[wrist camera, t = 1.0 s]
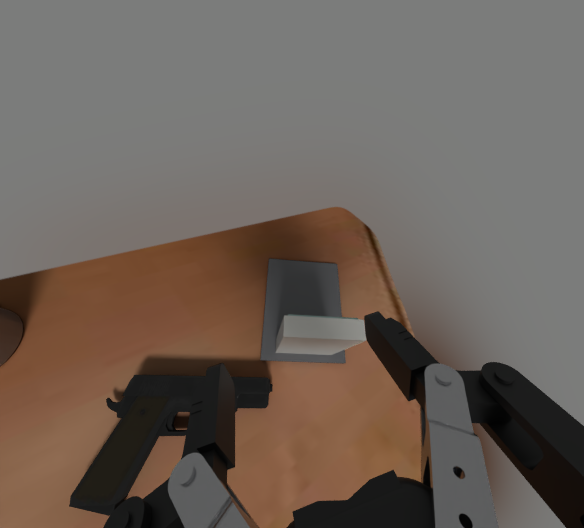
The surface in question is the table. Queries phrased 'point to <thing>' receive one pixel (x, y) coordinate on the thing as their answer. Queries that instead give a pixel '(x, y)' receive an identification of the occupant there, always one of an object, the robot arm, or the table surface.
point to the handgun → (147, 432)
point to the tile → (318, 334)
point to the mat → (299, 303)
